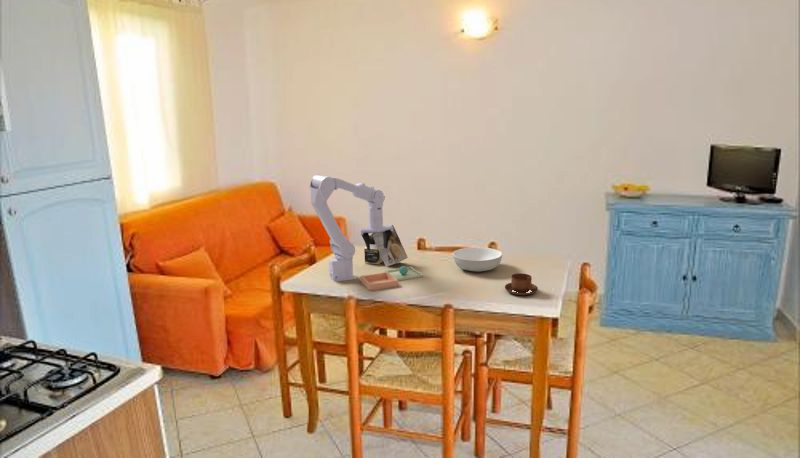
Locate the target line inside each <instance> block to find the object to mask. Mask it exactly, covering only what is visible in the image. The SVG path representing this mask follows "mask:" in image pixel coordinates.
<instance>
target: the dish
mask: <svg viewBox="0 0 800 458" xmlns="http://www.w3.org/2000/svg"><path fill="white" fill-rule="evenodd" d="M359 277H360V278H359V279H360V283H361V284H362V285H363V286H364V287H366V288H367V289H368V291H375V290H382V289H388V288H394V287H398V286H399V281H398V280H397V279H396V278H394V277H393V276H392V275H391V274H389V273H388V272H385V271H384V272H378V273H371V274H366V275H365V274H364V275H360V276H359Z"/></svg>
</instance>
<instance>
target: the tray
mask: <svg viewBox="0 0 800 458" xmlns="http://www.w3.org/2000/svg"><path fill="white" fill-rule="evenodd" d="M406 267H407V268H408V272H407V274H405V275H402V274H401V273H400V272H399V269H400V267H399V268H392V269H391V268H390V269H386V270H384V272H388V273H389V274H391V275H392V276H393V277H394V278H396V279H397V280H398V282H399V281H405V280H410V279H418V278H423V277H424V275H423V273H421V272H420V271H418V270H417V269H415V268H414V267H412V266H406Z"/></svg>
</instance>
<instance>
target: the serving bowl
mask: <svg viewBox="0 0 800 458" xmlns="http://www.w3.org/2000/svg"><path fill="white" fill-rule="evenodd" d="M502 258H503V253H502V251H500V250H498V249H495V248H489V247H483V246H482V247H481V246H480V247H479V246H478V247H477V246H476V247H472V246H471V247H464V248H460V249H456V250H454V251H452V259H453V261H454V263H455V265H456V266H458V267H459V268H460V269H463V270H464V271H470V272H475V273H479V272H480V273H481V272H486V271H491V270H493V269H495V268H497V267H498V266H499V264H500V263H501V261H502Z"/></svg>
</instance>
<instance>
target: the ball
mask: <svg viewBox="0 0 800 458" xmlns="http://www.w3.org/2000/svg"><path fill="white" fill-rule="evenodd" d="M407 267H408V266H405V265H402V266H400V267H399V268H400V269H399V272H400V273H401V274H402V275H405V274H407V272H408V268H407Z"/></svg>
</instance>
